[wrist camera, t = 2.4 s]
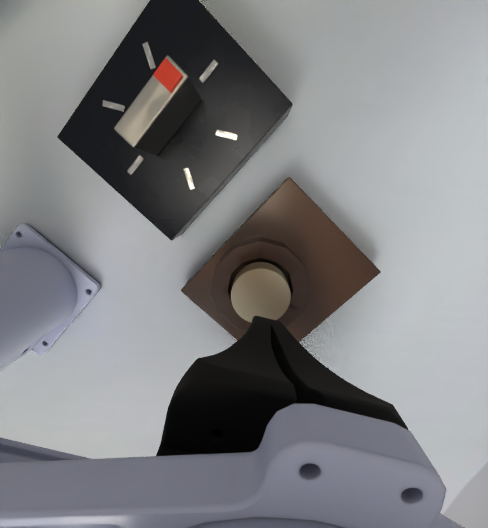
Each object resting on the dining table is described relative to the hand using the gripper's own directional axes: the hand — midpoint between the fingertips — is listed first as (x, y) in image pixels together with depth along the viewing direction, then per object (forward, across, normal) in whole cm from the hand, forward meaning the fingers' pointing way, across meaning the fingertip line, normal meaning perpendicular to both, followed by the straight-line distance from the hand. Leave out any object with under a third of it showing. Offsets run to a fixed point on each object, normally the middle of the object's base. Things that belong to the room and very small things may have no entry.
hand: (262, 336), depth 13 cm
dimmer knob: (+7, +8, -9) cm, 15 cm away
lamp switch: (+10, -1, 0) cm, 10 cm away
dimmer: (+10, +8, -10) cm, 16 cm away
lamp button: (+7, 0, 0) cm, 7 cm away
